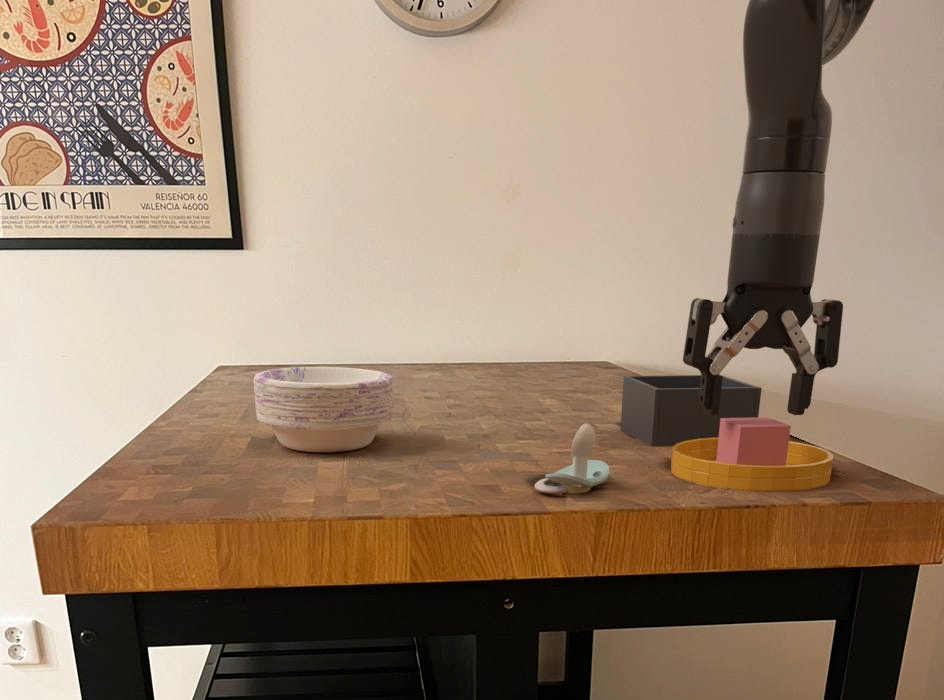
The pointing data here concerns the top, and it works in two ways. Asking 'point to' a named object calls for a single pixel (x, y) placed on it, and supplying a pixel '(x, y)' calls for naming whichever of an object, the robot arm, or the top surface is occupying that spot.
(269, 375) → the paper bowls
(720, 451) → the toy cube
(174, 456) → the top surface
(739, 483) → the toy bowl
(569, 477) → the pacifier
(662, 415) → the grey bin
